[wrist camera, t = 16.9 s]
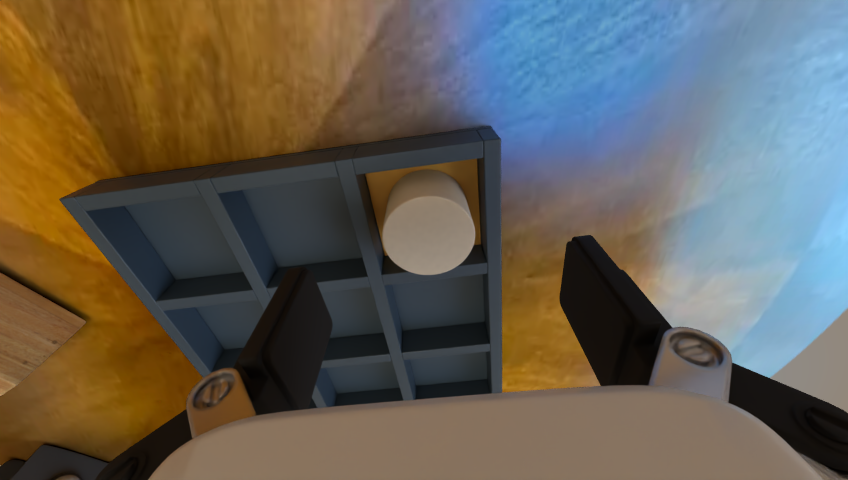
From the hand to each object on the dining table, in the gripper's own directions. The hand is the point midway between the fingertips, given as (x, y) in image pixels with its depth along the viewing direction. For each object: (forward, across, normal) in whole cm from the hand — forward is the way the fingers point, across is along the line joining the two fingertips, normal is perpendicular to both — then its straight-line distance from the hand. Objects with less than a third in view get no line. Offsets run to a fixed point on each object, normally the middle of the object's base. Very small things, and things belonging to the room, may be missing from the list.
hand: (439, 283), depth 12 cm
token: (+7, 0, 0) cm, 7 cm away
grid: (+7, +7, +7) cm, 13 cm away
